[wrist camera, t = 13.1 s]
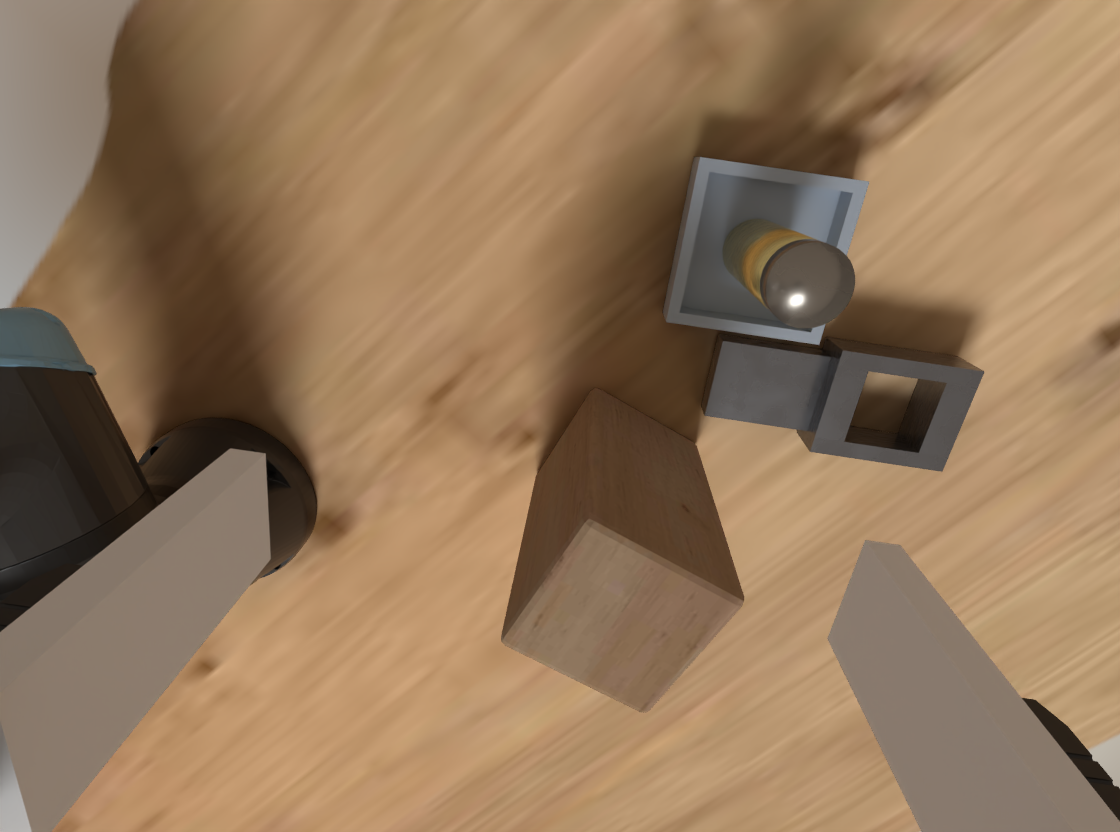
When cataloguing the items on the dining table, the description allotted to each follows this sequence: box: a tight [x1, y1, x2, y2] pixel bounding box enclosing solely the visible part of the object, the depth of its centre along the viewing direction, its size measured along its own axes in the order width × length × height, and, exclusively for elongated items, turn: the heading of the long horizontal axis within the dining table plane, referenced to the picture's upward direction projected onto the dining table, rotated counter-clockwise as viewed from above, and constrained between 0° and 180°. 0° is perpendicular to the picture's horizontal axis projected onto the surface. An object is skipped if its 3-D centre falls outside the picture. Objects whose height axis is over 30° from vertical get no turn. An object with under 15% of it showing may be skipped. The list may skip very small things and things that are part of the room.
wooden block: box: [501, 388, 744, 713], centre depth 43 cm, size 10×10×20 cm
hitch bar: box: [701, 334, 984, 471], centre depth 47 cm, size 18×8×4 cm, turn 82°
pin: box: [722, 219, 855, 329], centre depth 38 cm, size 4×4×14 cm
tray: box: [663, 157, 869, 345], centre depth 44 cm, size 11×11×3 cm
